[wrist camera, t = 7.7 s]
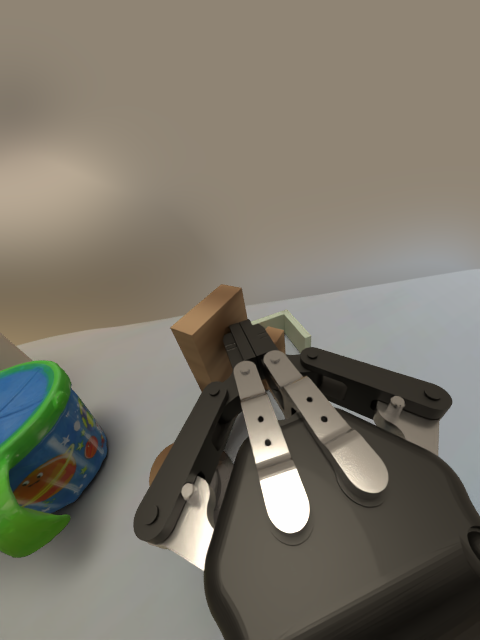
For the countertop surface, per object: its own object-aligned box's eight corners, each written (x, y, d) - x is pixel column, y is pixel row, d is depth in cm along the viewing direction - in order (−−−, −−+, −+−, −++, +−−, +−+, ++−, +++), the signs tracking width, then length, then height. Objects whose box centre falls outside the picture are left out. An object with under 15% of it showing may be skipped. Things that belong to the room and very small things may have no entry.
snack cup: (18, 440, 25) (-77, 389, 19) (111, 386, 29) (59, 329, 23) (-13, 634, 14) (-262, 667, 8) (144, 504, 18) (61, 457, 12)
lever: (198, 531, 16) (83, 463, 8) (166, 499, 18) (45, 416, 9) (291, 360, 27) (288, 253, 18) (265, 352, 29) (251, 250, 20)
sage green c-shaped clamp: (219, 391, 25) (211, 372, 23) (209, 357, 30) (202, 338, 28) (310, 356, 27) (311, 335, 25) (287, 328, 32) (286, 309, 29)
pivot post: (155, 572, 15) (137, 569, 13) (155, 463, 20) (142, 451, 19) (250, 525, 16) (244, 517, 14) (226, 434, 21) (219, 420, 20)
